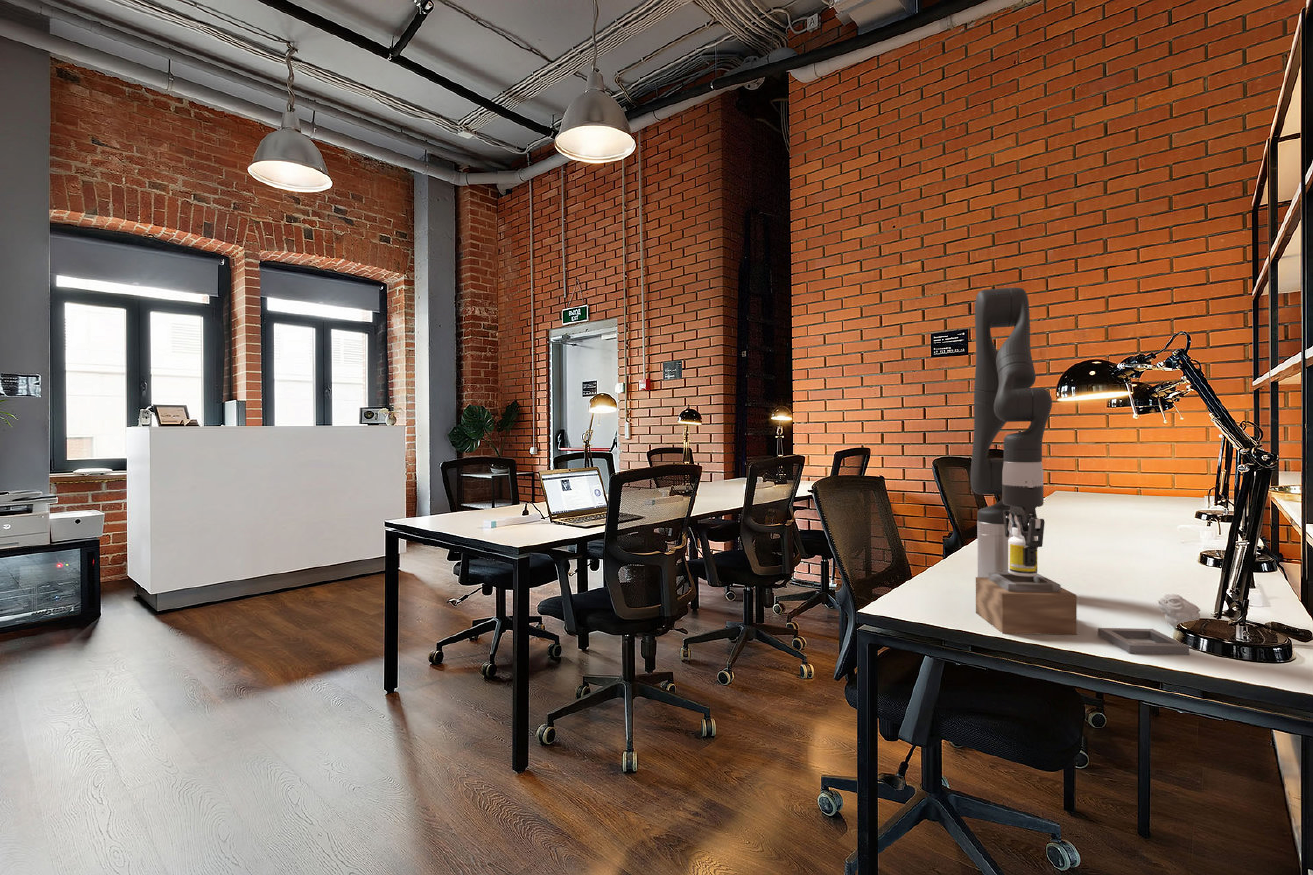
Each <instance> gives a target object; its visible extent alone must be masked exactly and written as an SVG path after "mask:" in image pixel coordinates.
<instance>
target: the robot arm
mask: <svg viewBox="0 0 1313 875" xmlns="http://www.w3.org/2000/svg"><path fill="white" fill-rule="evenodd" d="M975 297H976V298H975V302H974V325H975V327H974V328H975V373H974V374H975V375H974V388H973V389H974V392H973V395H974V396H973V426H974V427H973V442H972V443H973V444H972V454H971V463H970V464H971V466H970V486H971V489H972V492H973V493H975V494H976V495H985V496H988V495H990V496H1002V497H1001V499H1000V500H999V501H997V502H996V503H994V504H992V505H989V506H985V507H983V508H980V509H978V510H977V515H976V516H977V517H976V519H977V520H976V521H977V523H976V526H977V529H976V530H977V534H976V535H977V536H976V537H977V577H989V573H1009V572H1008V540H1009V538H1011V537H1013V534H1012V527H1015V528H1018V534H1019V537H1021V538H1022V542H1023V547H1024V548H1023V564H1024V565H1025V566H1036V548H1037V549H1038V548H1042V547H1043V544H1044V542H1043V541H1044V535H1045V534H1044V533H1045V518H1038V516H1037V511H1036V509H1037V508H1041V507H1042V506H1043V505H1044V503H1045V502H1044V498H1045V497H1044V468H1043V438H1044V434H1045V430H1046V425H1047V422H1048V419H1049V417H1050V414H1051V410H1052V406H1053V398H1052V396H1051V394H1050V393H1049V391H1048V390H1047V389H1045V388H1042V387H1033V386H1034V385H1035V382H1036V380H1037V379H1036V377H1037V376H1036V371H1035V366H1034V362H1033V357H1032V351H1031V321H1030V320H1031V319H1030V303H1029V296H1028V294H1027V292H1026V290H1025V289H1024V288H1022V287H1004V288H1003V287H1002V288H992V289H991V288H990V289H988V288H987V289H982V290H979V292H978V293H977V294H976V296H975ZM1010 327H1012V328H1013V327H1014V328H1013V330H1012V331H1011V333H1010V334H1009V336H1008V337H1007V339H1005V341H1004V342H1003V343H1002V345H1001V346H1000V348H999V349H998V350H997V347H996V346H995V343H994V342H993V338H992V333H991V332H992V331H991V329H993V328H994V329H995V328H1010ZM1017 422H1021V423H1022V422H1030V424H1029V426H1028V427H1027V428H1026V429H1025V430H1023V431H1018V432H1013V433H1008V434H1007V435H1005V436H1004V437H1003V458H988V454H989V450H990V448H991V445H992V443H993V442H994V440H995V439H996V436H997V435H998V434H999V432H1000V431H1001V430H1002V428H1003V427H1004V426H1005V425H1006V424H1007V423H1017ZM1025 531H1028V533H1026V532H1025ZM1027 537H1028V538H1027Z"/></svg>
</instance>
